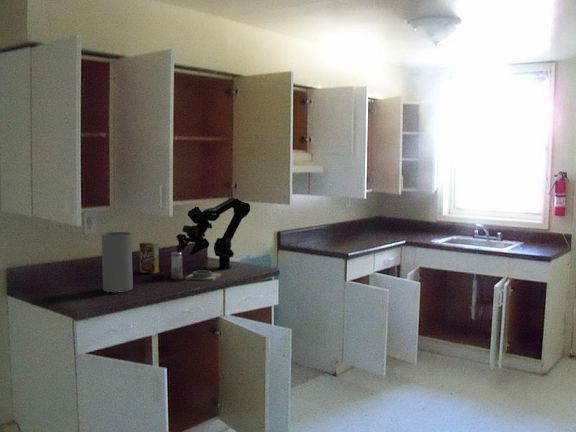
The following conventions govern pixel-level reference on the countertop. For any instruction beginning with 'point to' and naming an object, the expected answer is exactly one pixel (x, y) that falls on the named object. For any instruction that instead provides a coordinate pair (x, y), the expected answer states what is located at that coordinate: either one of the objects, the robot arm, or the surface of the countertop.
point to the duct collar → (202, 274)
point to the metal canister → (176, 265)
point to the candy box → (149, 257)
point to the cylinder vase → (117, 261)
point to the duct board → (213, 277)
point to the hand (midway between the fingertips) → (183, 254)
